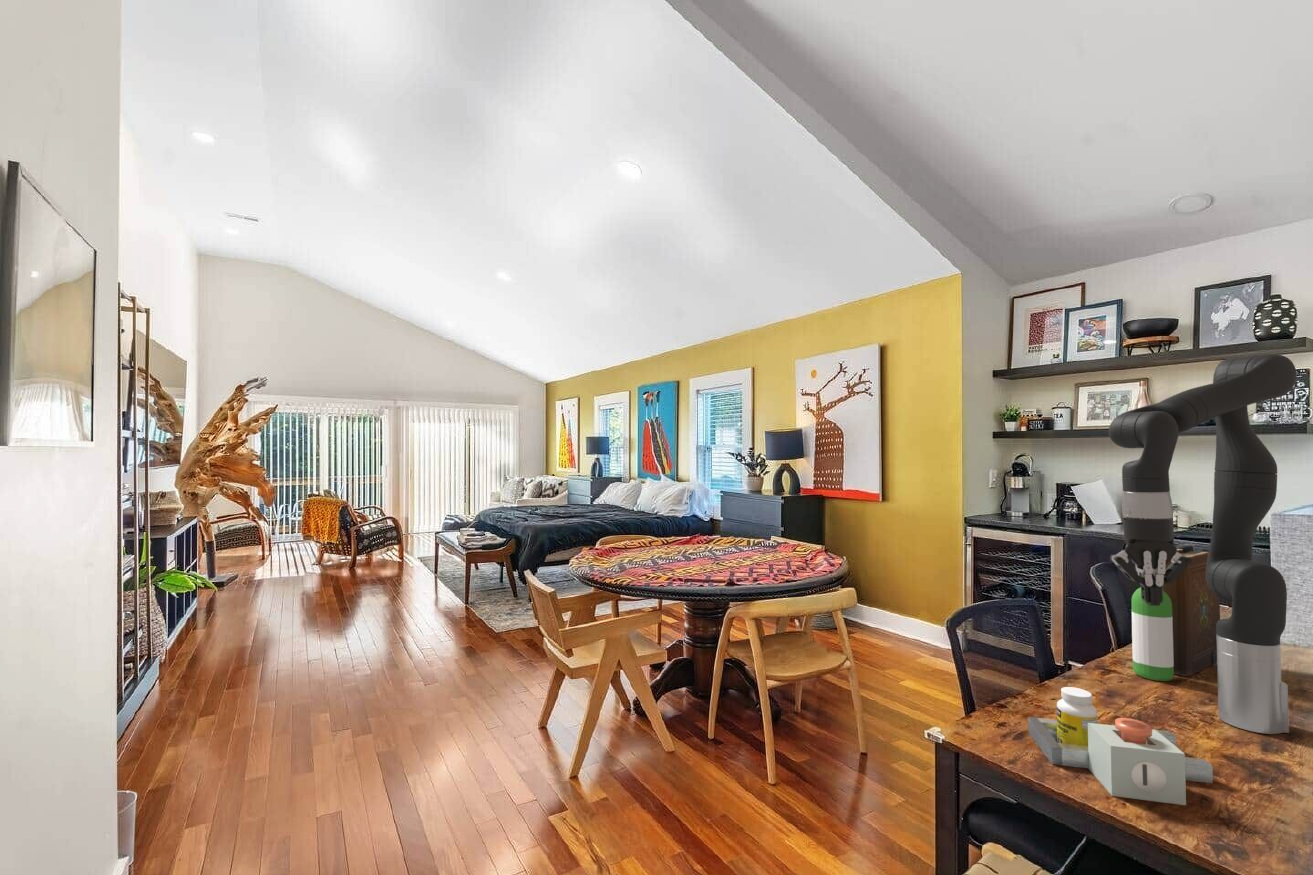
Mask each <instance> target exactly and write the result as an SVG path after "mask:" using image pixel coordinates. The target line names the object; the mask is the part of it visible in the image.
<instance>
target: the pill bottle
mask: <svg viewBox="0 0 1313 875" xmlns="http://www.w3.org/2000/svg"><path fill="white" fill-rule="evenodd" d="M1060 692H1061V693H1060V695H1061V699H1059V700H1058V701H1057V702H1056V720H1057V740H1056V742H1057V743H1063V744H1072V745H1081V746H1088V723H1095V724H1099V723H1098V718H1099V717H1098V711H1097V709H1096V708H1095V706H1094V705H1093V704H1092V703H1093V695H1092V693H1091V692H1090V691H1088V690H1085V689H1083V688H1079V687H1074V686H1064V687H1062V688H1061V689H1060Z"/></svg>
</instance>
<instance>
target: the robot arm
mask: <svg viewBox="0 0 1313 875" xmlns="http://www.w3.org/2000/svg"><path fill="white" fill-rule="evenodd" d="M1297 377H1298V376H1297V369H1296V366H1295V364H1294V362H1293V361H1292V360H1291V359H1290V358H1288V357H1287V356H1284V355H1282V354H1278V353H1271V354H1270V353H1268V354H1265V353H1264V354H1258V355H1256V354H1255V355H1248V356H1240V357H1239V356H1238V357H1231V358H1226V359H1223V360H1222V361H1220V362H1219V363H1218V364H1217V366H1216V367H1215V370H1214V372H1213V379H1212V382H1211V383H1208V384H1204V385H1200V386H1197V387H1193V388H1189V389H1186V390H1184V391H1180V392H1179V393H1176V394H1174V395H1172V396H1169V397H1168V398H1165V399H1163V400H1161V401H1160V402H1156V403H1154V404H1153V403H1152V404H1149V405H1145V406H1142V407H1137V408H1135V409H1131V410H1128V411H1125V412H1122V413H1120V414H1119V415H1117V416H1116V417H1115V418H1114V419H1113V420H1112V421H1111V423H1110V425H1109V427H1108V435H1109V436H1108V437H1109V439H1110V440H1111V441H1112V442H1113V444H1115V445H1117V446H1118V447H1121V448H1124V449H1143V450H1142V452H1141V456H1140V457H1139V458H1138V459H1135V460H1131V461H1127V462H1124V464H1123V465H1122V466H1121V468H1122V469H1121V471H1122V472H1121V478H1122V479H1121V481H1122V482H1121V483H1122V499H1121V507H1122V509H1121V510H1122V527H1123V529H1122V530H1123V540H1124V542H1123V544H1122V546H1121V551H1119V552H1117V553H1116V554H1111V555H1110V556H1109V559H1110V561H1111V562H1112V563H1113V564H1114V565H1115V566H1116V567H1117V568H1118V569H1119V570H1120V571H1121V572H1122V574H1124V576H1125V577H1127V579H1128V580H1130V581H1133V582H1135V583H1137V584H1139V585H1140V587H1141V598H1142V600H1143V601H1145V603H1146V604H1148V605H1150V606H1160V603H1162V601H1163V595H1162V586H1163V585H1164V584H1167V583H1173V582H1174V581H1175V580H1176V579H1177V578H1178V577H1179V576H1180V574H1181V573H1182V572H1183V571H1184V570H1185V569H1186V568H1187V566H1188V565H1189V564H1190V563H1191V561H1192V560H1191V559H1190V558H1188V557H1185V556H1183V555H1181V554H1180V553H1178V552H1177V545H1175V543H1174V540H1175V531H1174V530H1175V529H1174V528H1175V527H1174V509H1173V501H1172V498H1171V497H1172V496H1171V491H1170V490H1171V489H1170V487H1171V486H1170V478H1169V477H1170V475H1169V474H1170V473H1169V470H1170V468H1171V463H1172V460H1173V456H1174V453H1175V450H1176V447H1177V446H1176V445H1177V443H1178V440H1179V439H1178V438H1179V433H1183V432H1186V431H1189V430H1191V429H1193V428H1195V427H1198V426H1199V425H1201V424H1204V423H1205V422H1207V421H1210V420H1211V419H1215V436H1216V437H1215V443H1216V444H1215V462H1214V473H1213V511H1212V512H1213V513H1212V526H1211V536H1210V543H1209V547H1210V548H1209V547H1208V548H1209V553H1208V558H1207V564H1206V573H1205V576H1206V582H1207V585H1208V587H1209V589H1210V590H1211V591H1212V593H1214V594H1215V595H1216V596H1218V597H1220V599H1222V600H1225V601H1228V602H1231V603H1232V604H1231V605H1232V606H1231V614H1230V615H1231V616H1229V617H1228V618H1222V619H1221V618H1220V620H1219V621H1218V622H1217V624H1216V638H1217V665H1216V666H1217V710H1218V718H1219V719H1220V720H1221V721H1223V723H1226V724H1228V725H1230V726H1233V727H1235V728H1239V729H1242V730H1245V731H1249V732H1254V733H1259V734H1265V735H1279V734H1282V733H1287V734H1290V722H1289V717H1290V716H1289V688H1288V687H1289V686H1288V684H1287V683H1286V682H1284V681H1282V660H1281V658H1282V657H1281V655H1282V654H1281V636H1282V635H1283V633H1284V631H1285V629H1286V623H1287V608H1288V606H1287V604H1288V602H1287V601H1288V591H1287V590H1288V589H1287V584H1286V581H1285V578H1284V576H1283V575H1282V573H1281V572H1280V571H1279V570H1278V569H1277V568H1275V567H1274V566H1271V565H1270V564H1267V563H1263V562H1259V561H1255V560H1253V540H1254V537H1255V536H1254V535H1255V533H1256V531H1257V529H1258V527H1259V526H1260V524H1261V523H1262V521H1263V520H1264V518H1265V517H1266V516H1267V514H1268V513H1269V511H1270V510H1271V508H1272V507H1273V504H1274V503H1275V500H1276V499H1277V498H1276V497H1277V491H1278V490H1277V489H1278V465H1277V462H1276V460H1275V458H1274V456H1273V455H1272V453H1271V452H1270V450H1269V449H1268V448H1267V447H1266V445H1265V444H1264V443H1263V442H1262V440H1261V439H1260V438H1259V437H1258V436H1257V434H1256V433H1255V431H1254V429H1253V428H1252V425H1251V423H1250V419H1249V412H1248V410H1249V409H1248V406H1249V405H1253V404H1257V403H1260V402H1264V401H1269V400H1272V399H1273V400H1274V399H1277V398H1281V397H1283V396H1286V394H1289V393H1290V392H1291V391H1292V390H1293V388H1294V387H1295V384H1296V382H1297ZM1129 559H1130V561H1131V562H1132V563H1133V564H1134V565H1135V569H1133V568H1132V567H1131V566H1130V565H1129V564H1128V563H1129ZM1170 560H1171V562H1172V563H1171V564H1170V565H1169V566H1168V567H1167V568H1166V570H1165V566H1166V565H1167V564H1168V563H1169V561H1170Z"/></svg>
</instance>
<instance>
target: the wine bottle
mask: <svg viewBox="0 0 1313 875" xmlns="http://www.w3.org/2000/svg"><path fill="white" fill-rule="evenodd" d="M1162 595H1163V601H1162V603H1160V606H1150V605H1148V604H1146V603H1145V601H1143V600H1142V598H1141V586H1140V587H1139V588H1137V589H1136V590H1135V591H1134V592H1133V594H1132V595H1131V640H1132V641H1131V644H1132V645H1131V646H1132V652H1131V653H1132V669H1133V672H1134V673H1135V674H1136V675H1137V676H1139V677H1141V678H1144V679H1147V680H1151V681H1156V682H1157V681H1158V682H1170V681H1171V680H1173V678H1174V675H1175V674H1174V657H1173V621H1172V603H1171V600H1170V598H1169V596H1168V595H1167V594H1166V593H1165V592H1164V591H1163V590H1162Z"/></svg>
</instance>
